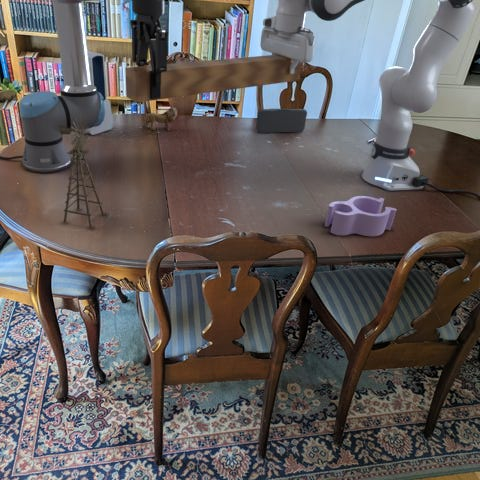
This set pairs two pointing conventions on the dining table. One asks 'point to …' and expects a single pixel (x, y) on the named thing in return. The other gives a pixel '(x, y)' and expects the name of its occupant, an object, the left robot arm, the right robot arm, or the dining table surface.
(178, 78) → the bar
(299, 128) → the handheld gaming console
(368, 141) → the sword
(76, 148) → the miniature windmill
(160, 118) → the lion figurine
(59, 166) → the left robot arm
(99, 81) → the electronic device
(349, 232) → the clip
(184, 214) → the dining table surface
